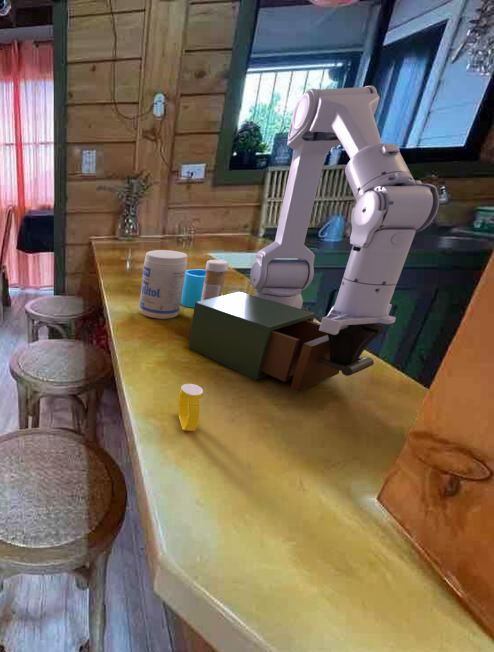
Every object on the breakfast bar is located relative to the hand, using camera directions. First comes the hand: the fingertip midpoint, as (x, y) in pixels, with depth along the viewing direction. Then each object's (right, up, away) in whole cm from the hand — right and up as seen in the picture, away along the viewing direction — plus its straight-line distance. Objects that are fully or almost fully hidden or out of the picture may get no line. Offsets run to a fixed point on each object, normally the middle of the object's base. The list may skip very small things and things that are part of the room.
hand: (339, 368), depth 57 cm
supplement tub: (-16, +11, +36) cm, 41 cm away
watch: (-25, -8, -4) cm, 26 cm away
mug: (-4, +15, +44) cm, 47 cm away
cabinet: (-7, +1, +15) cm, 16 cm away
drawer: (-3, -1, +7) cm, 7 cm away
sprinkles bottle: (-5, +10, +33) cm, 35 cm away
